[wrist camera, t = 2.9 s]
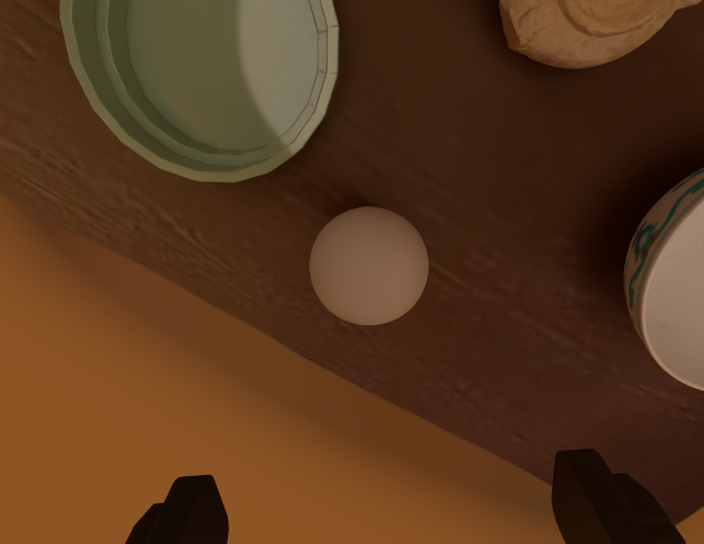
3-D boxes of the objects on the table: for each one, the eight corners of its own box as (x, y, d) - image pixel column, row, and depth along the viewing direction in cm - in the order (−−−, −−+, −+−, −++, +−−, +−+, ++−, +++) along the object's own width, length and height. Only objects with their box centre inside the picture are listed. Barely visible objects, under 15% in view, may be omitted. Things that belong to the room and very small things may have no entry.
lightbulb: (355, 157, 27) (352, 201, 17) (429, 209, 29) (466, 277, 19) (305, 230, 29) (277, 307, 19) (376, 276, 31) (384, 369, 21)
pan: (73, 73, 25) (18, 71, 21) (180, -165, 21) (136, -225, 17) (261, 208, 29) (245, 229, 25) (389, 28, 24) (395, 17, 20)
